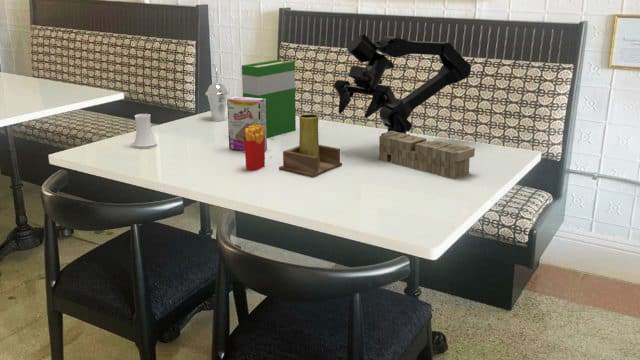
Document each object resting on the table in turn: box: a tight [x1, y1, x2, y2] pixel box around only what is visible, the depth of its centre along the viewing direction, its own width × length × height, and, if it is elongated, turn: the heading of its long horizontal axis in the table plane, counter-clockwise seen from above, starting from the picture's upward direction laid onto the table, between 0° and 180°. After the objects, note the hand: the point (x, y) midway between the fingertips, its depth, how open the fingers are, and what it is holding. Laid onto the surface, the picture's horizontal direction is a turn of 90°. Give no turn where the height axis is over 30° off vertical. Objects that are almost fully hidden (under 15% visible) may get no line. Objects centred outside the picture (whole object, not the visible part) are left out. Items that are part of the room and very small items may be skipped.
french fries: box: [244, 125, 266, 172], centre depth 185 cm, size 8×4×12 cm, turn 153°
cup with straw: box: [205, 63, 229, 122], centre depth 240 cm, size 8×9×20 cm
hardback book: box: [241, 59, 297, 139], centre depth 220 cm, size 18×7×24 cm, turn 140°
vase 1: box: [132, 113, 158, 150], centre depth 207 cm, size 8×8×10 cm
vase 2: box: [298, 113, 320, 166], centre depth 184 cm, size 6×6×14 cm
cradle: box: [278, 144, 343, 179], centre depth 185 cm, size 14×12×5 cm
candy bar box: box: [226, 95, 268, 152], centre depth 201 cm, size 11×5×16 cm, turn 71°
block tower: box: [378, 130, 476, 180], centre depth 186 cm, size 8×8×29 cm
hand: (352, 114), depth 189 cm, fingers open, 9 cm apart
